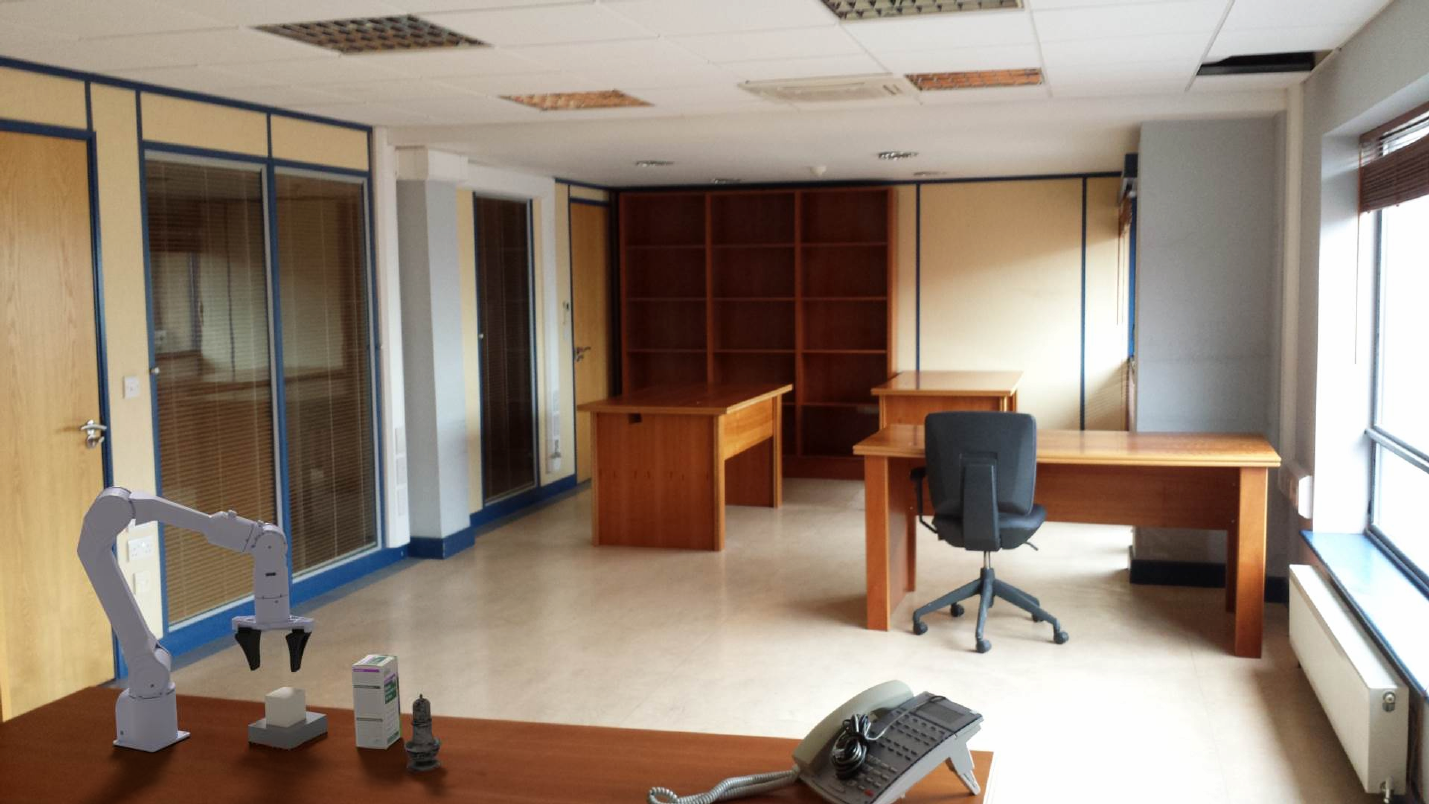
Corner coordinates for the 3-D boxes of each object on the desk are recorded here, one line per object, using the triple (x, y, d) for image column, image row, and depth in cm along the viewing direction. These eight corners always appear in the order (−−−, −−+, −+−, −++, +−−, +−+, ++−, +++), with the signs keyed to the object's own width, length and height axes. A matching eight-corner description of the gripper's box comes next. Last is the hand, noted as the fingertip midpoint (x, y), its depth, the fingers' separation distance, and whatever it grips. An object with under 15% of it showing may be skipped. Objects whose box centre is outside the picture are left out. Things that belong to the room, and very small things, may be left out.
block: (248, 742, 201) (247, 725, 201) (286, 724, 210) (286, 707, 209) (290, 750, 198) (289, 733, 198) (327, 731, 206) (326, 714, 206)
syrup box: (386, 749, 198) (383, 665, 196) (354, 747, 199) (350, 663, 197) (402, 736, 203) (399, 654, 202) (370, 734, 205) (367, 653, 203)
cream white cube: (266, 723, 202) (264, 695, 201) (285, 714, 206) (284, 686, 206) (287, 727, 200) (285, 698, 200) (306, 717, 204) (304, 689, 204)
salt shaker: (449, 760, 193) (446, 689, 192) (429, 774, 188) (426, 701, 186) (418, 755, 195) (415, 685, 194) (397, 770, 190) (394, 697, 188)
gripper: (220, 599, 204) (224, 675, 206) (299, 602, 202) (303, 678, 204) (242, 588, 211) (246, 662, 213) (318, 591, 209) (322, 665, 211)
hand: (275, 669), depth 209 cm, fingers open, 7 cm apart
